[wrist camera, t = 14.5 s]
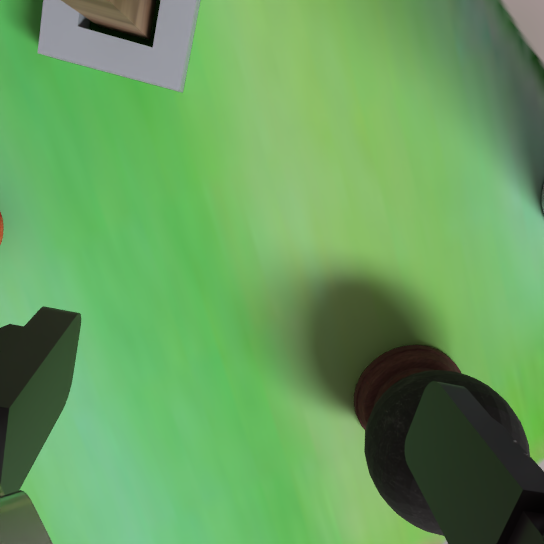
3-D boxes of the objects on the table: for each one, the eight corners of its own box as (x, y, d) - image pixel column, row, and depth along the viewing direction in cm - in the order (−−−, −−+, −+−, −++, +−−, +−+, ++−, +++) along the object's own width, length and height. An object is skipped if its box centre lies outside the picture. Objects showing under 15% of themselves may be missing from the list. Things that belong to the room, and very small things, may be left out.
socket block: (69, -93, 34) (55, -111, 32) (209, -48, 36) (208, -62, 33) (51, 57, 37) (37, 53, 34) (182, 92, 39) (179, 91, 36)
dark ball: (378, 469, 52) (436, 603, 38) (321, 378, 48) (361, 489, 34) (489, 410, 51) (591, 525, 37) (440, 311, 47) (534, 398, 33)
